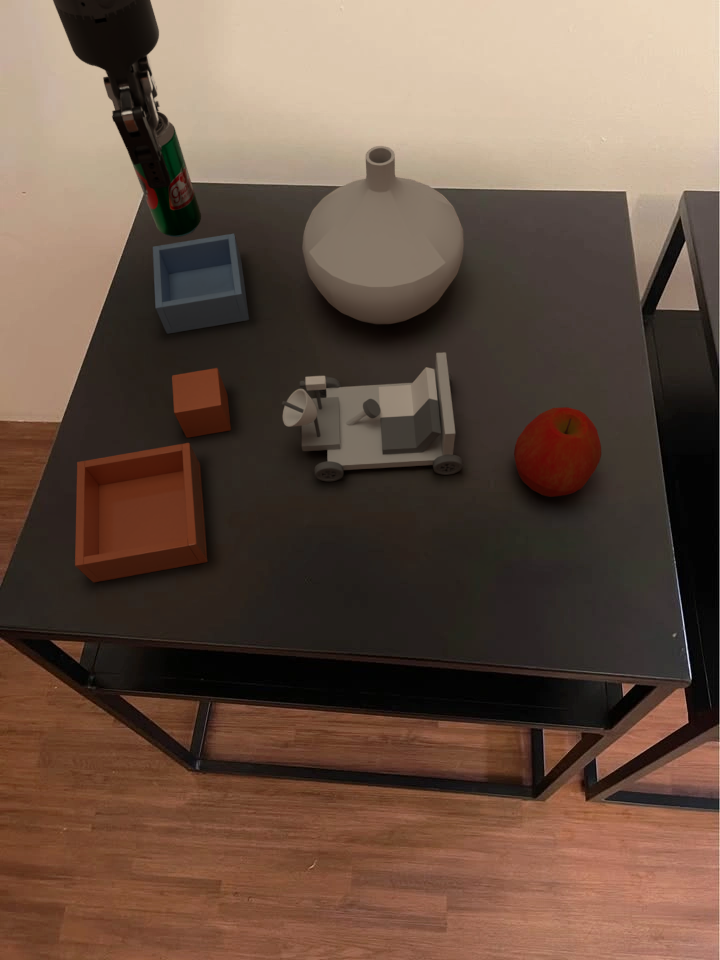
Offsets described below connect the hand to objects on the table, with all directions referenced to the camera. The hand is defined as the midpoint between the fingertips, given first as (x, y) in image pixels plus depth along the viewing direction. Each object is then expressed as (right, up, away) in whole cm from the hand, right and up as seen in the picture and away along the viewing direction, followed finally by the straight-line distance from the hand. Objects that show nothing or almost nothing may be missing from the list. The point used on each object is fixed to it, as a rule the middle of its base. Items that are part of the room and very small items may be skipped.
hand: (159, 166), depth 73 cm
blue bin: (+1, -9, +17) cm, 19 cm away
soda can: (0, -4, +7) cm, 8 cm away
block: (+3, -25, +8) cm, 26 cm away
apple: (+40, -31, +3) cm, 51 cm away
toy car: (+22, -27, +6) cm, 35 cm away
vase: (+23, -9, +16) cm, 30 cm away
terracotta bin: (-2, -36, +2) cm, 36 cm away
